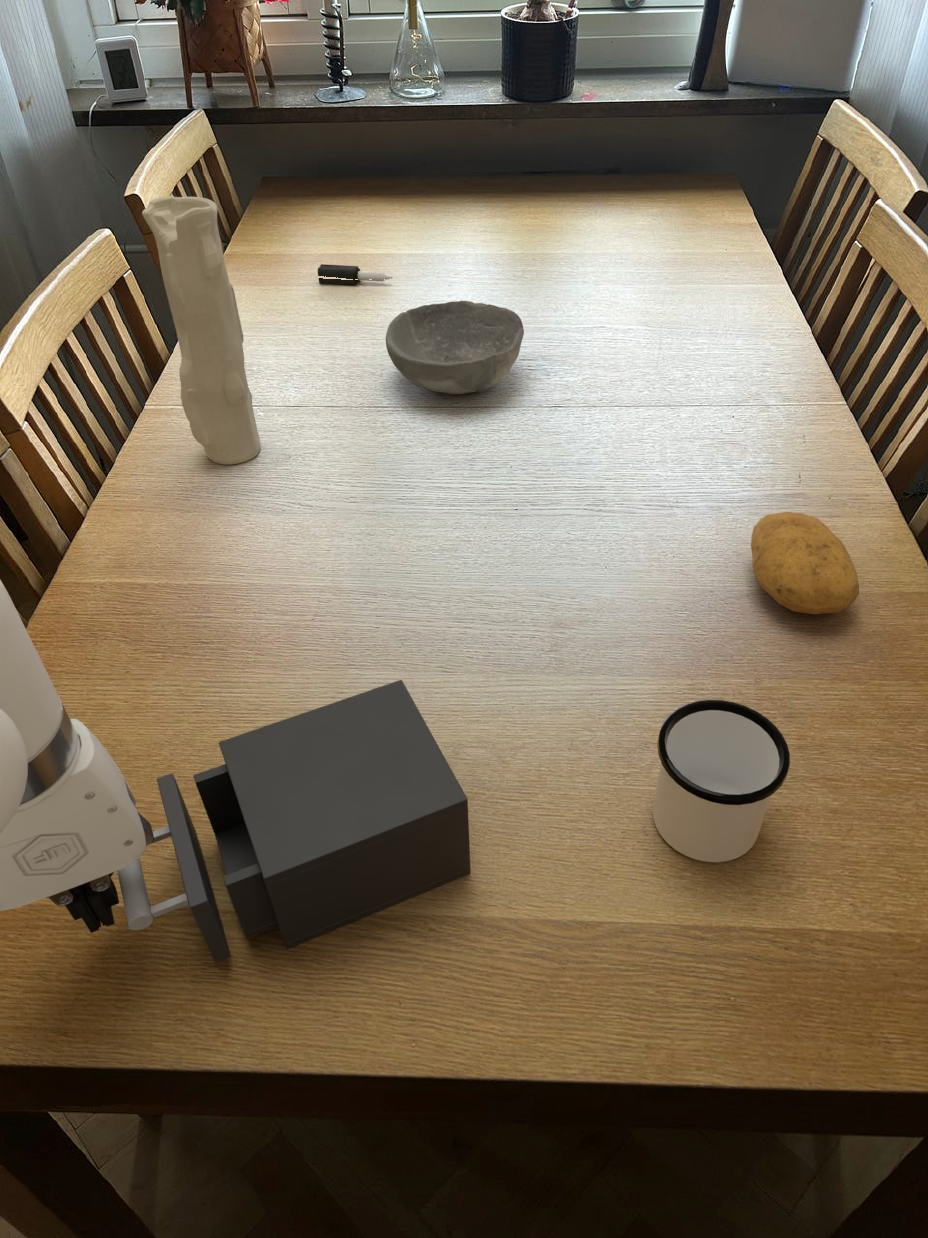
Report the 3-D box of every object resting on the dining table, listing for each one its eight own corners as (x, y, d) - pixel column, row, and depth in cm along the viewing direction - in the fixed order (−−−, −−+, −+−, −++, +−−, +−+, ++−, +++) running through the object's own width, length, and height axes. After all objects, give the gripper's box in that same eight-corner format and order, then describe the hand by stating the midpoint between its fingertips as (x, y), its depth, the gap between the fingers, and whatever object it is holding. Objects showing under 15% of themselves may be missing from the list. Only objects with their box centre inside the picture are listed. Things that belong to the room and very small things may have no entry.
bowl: (362, 387, 125) (356, 331, 119) (448, 338, 134) (446, 285, 129) (463, 432, 116) (461, 373, 111) (548, 376, 126) (550, 320, 120)
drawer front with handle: (153, 990, 64) (121, 934, 59) (125, 859, 72) (95, 799, 66) (394, 891, 69) (385, 831, 64) (344, 778, 77) (332, 717, 71)
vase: (272, 463, 112) (221, 207, 92) (202, 478, 110) (133, 221, 90) (259, 427, 118) (208, 180, 98) (192, 441, 116) (125, 192, 96)
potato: (763, 635, 89) (778, 581, 84) (731, 551, 98) (743, 497, 93) (859, 631, 89) (880, 576, 84) (818, 547, 98) (834, 493, 93)
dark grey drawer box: (286, 950, 67) (263, 879, 60) (242, 816, 75) (218, 741, 69) (471, 873, 71) (468, 799, 64) (409, 755, 79) (401, 679, 73)
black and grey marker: (319, 284, 149) (391, 288, 147) (317, 269, 148) (390, 273, 146) (323, 277, 151) (395, 281, 149) (321, 262, 149) (393, 266, 148)
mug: (770, 878, 70) (797, 807, 64) (643, 862, 71) (657, 792, 65) (759, 753, 79) (782, 680, 72) (646, 741, 80) (658, 668, 74)
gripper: (-141, 848, 48) (-8, 1003, 61) (148, 749, 52) (217, 913, 65) (-138, 746, 53) (-16, 909, 66) (125, 663, 57) (193, 831, 70)
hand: (99, 911), depth 65 cm, fingers closed
